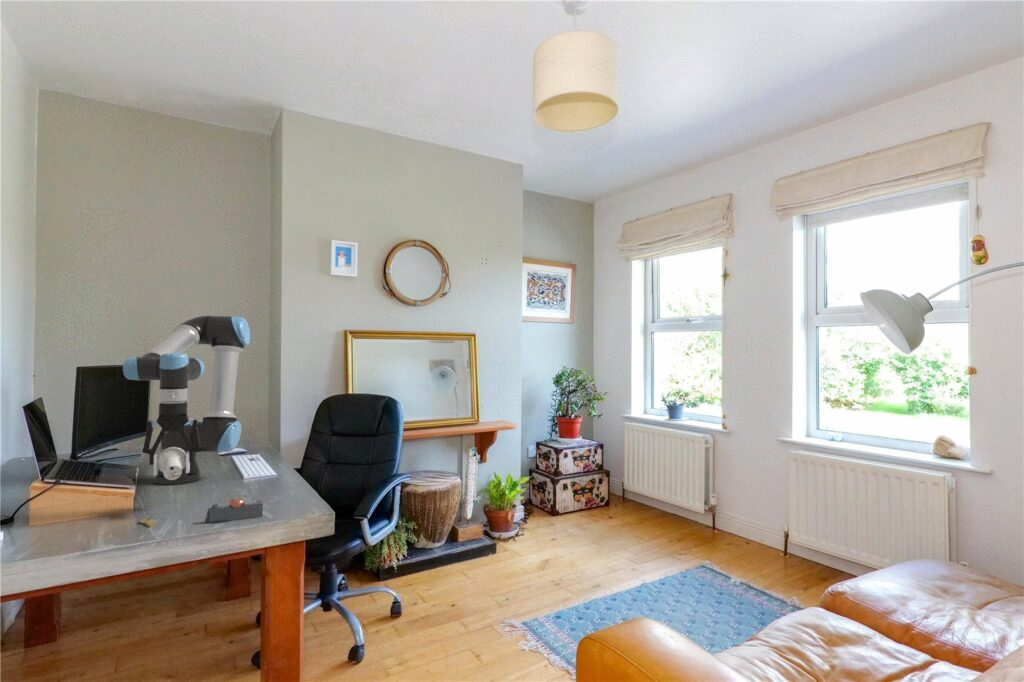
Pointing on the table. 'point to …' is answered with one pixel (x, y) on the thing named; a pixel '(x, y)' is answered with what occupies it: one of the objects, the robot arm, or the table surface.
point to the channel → (236, 510)
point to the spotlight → (171, 462)
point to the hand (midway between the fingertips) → (171, 473)
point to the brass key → (148, 522)
